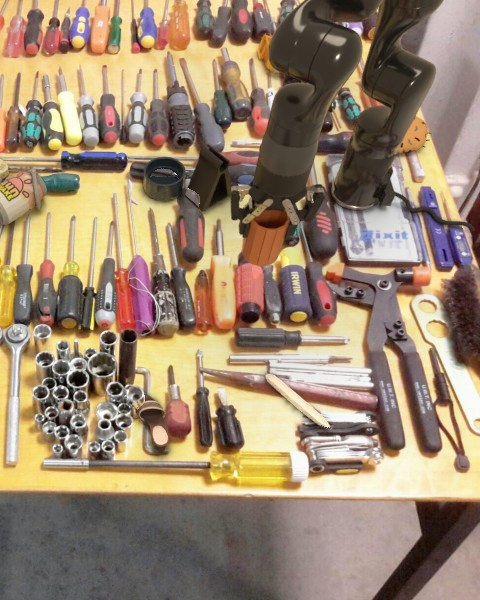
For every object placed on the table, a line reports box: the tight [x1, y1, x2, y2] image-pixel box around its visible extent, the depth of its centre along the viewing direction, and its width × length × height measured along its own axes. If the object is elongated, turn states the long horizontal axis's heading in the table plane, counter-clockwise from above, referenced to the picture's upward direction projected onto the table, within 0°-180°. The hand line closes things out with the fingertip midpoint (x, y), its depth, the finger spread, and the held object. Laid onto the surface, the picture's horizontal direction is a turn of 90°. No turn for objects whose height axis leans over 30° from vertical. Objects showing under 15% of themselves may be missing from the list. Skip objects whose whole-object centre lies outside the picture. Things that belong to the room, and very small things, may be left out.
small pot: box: [241, 209, 290, 267], centre depth 102 cm, size 6×6×9 cm
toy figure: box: [256, 34, 281, 74], centre depth 160 cm, size 5×6×12 cm
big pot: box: [142, 156, 187, 202], centre depth 138 cm, size 9×9×5 cm
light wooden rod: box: [264, 373, 331, 429], centre depth 108 cm, size 2×14×2 cm, turn 39°
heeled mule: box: [136, 393, 170, 453], centre depth 106 cm, size 4×11×4 cm, turn 13°
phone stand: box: [186, 143, 233, 212], centre depth 133 cm, size 9×6×12 cm, turn 123°
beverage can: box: [0, 167, 48, 226], centre depth 136 cm, size 9×8×12 cm
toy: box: [397, 116, 432, 154], centre depth 141 cm, size 12×10×5 cm
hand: (265, 234), depth 102 cm, fingers closed on small pot, 6 cm apart
